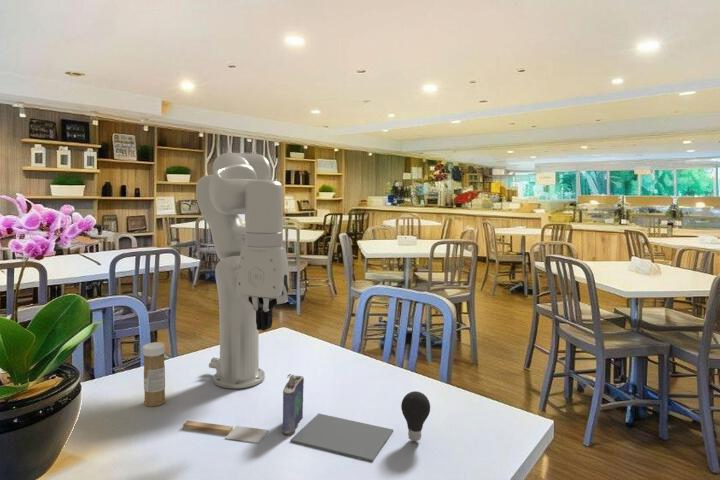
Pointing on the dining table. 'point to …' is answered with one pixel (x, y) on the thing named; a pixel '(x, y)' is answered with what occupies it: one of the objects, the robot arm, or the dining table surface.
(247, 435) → the turner
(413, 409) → the light bulb
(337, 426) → the slate board
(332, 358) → the dining table surface
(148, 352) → the sprinkles bottle
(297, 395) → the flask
